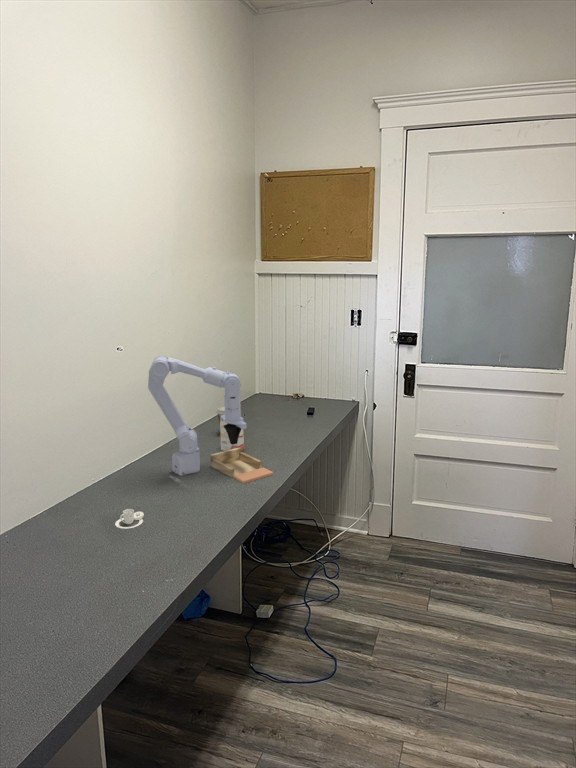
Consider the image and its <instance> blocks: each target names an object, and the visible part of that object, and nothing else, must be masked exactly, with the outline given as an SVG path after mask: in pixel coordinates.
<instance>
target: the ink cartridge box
mask: <svg viewBox="0 0 576 768" xmlns="http://www.w3.org/2000/svg"><path fill="white" fill-rule="evenodd" d="M224 425H227V423H225V422H224V421H220V424H219V429H220V430H219V432H220V433H219V435H220V450H221V451H222V452H223V451H227V450H231V449H235V448H239V447H240V448H242V451H244V450H245V437H244V435H245V434H244V429H241V431H240V434H239V437H238V442H237V444H233V445H232V444H231V443H230V440H229V437H228V434H227V431H226V430H225V428H224Z"/></svg>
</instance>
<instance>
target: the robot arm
mask: <svg viewBox="0 0 576 768" xmlns="http://www.w3.org/2000/svg"><path fill="white" fill-rule="evenodd" d="M169 373H170V375H174V374H178V373H183V374H186V375H190V376H194V377H198V378H201V379H202V381H203V382H204V383H205V384H208V385H210V386H211V385H212V386H215V387H218V388H222V389H223V388H224V395H223V396H224V397H223V398H224V399H223V400H224V406H225V415H221V416H220V421H224V422H225V423H227V425H224V428H225V430H226V431H227V434H228V437H229V440H230V443H231V444H232V445H233V444H237V442H238V437H239V434H240V431H241V429H243V430H245V429H247V428H248V427H247V426H248V425H247V422H245V421H244V417H242V410H241V409H242V406H241V402H242V401H241V390H240V389H241V387H242V384H241V381H240V377H239V376H238V375H236V373H234V372H230V371H226V372H225V371H223V370H220V369H217V367H216V366H212V367H210V366H208V367H207V368H202V367H199V366H197V365H194V364H191V363H189V362H186V361H183V360H180V359H177V358H174V357H172V356H171V357H170V356H169V357H167V356H165V355H158V356H156V357H155V358H154V359H153V361H152V363H151V365H150V368H149V369H148V381H147V382H148V383H147V384H148V385H147V387H148V388H147V389H148V391H149V392H150V394H151V395H152V397H153V399H154V400H155V402H156V403H157V405H158V407H159V408H160V411H161V412H162V413H163V415H164V416H165V418H166V420H167V422H168V423H169V424H170V426H171V427H172V429H173V431H174V433H175V436H176V439H177V440H178V445H179V446H178V447H179V448H178V451H177V452H174V453H173V454H172V456H171V462H172V463H171V464H172V465H171V466H172V472H173V473H174V474H177V475H179V476H181V477H182V476H185V475H190V474H194V473H198V472H199V471H200V470H201V462H200V461H201V459H200V447H199V446H198V439H199V438H198V437H199V436H198V433H197V432H196V430H194V429H193V428H191V426H190V425H189V424H188V423H187V422H186V421H185V419H184V417H183V416H182V414H181V413H180V411H179V409H178V408H177V406H176V405H175V402H174V401H173V400H172V397H171V396H170V394H169V393H168V391H167V390H166V388H165V386H164V383H165V379H166V378H167V377H168V375H169Z"/></svg>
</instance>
